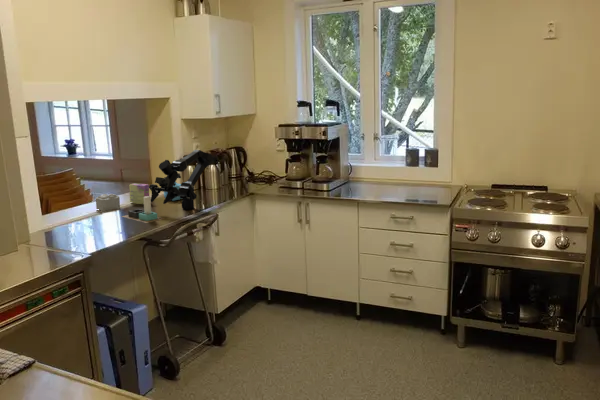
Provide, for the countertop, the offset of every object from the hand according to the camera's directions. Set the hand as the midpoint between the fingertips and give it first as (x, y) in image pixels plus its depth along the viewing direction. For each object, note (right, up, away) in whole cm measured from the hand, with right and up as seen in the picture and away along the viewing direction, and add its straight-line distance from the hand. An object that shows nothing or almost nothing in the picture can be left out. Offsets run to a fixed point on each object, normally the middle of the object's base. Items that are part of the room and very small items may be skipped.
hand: (157, 202), depth 281 cm
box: (-21, -1, +37) cm, 43 cm away
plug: (-4, -9, -5) cm, 11 cm away
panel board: (-7, -9, -2) cm, 12 cm away
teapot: (-2, +2, +50) cm, 50 cm away
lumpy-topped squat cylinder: (-34, -4, +20) cm, 40 cm away
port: (-4, -9, -5) cm, 11 cm away
